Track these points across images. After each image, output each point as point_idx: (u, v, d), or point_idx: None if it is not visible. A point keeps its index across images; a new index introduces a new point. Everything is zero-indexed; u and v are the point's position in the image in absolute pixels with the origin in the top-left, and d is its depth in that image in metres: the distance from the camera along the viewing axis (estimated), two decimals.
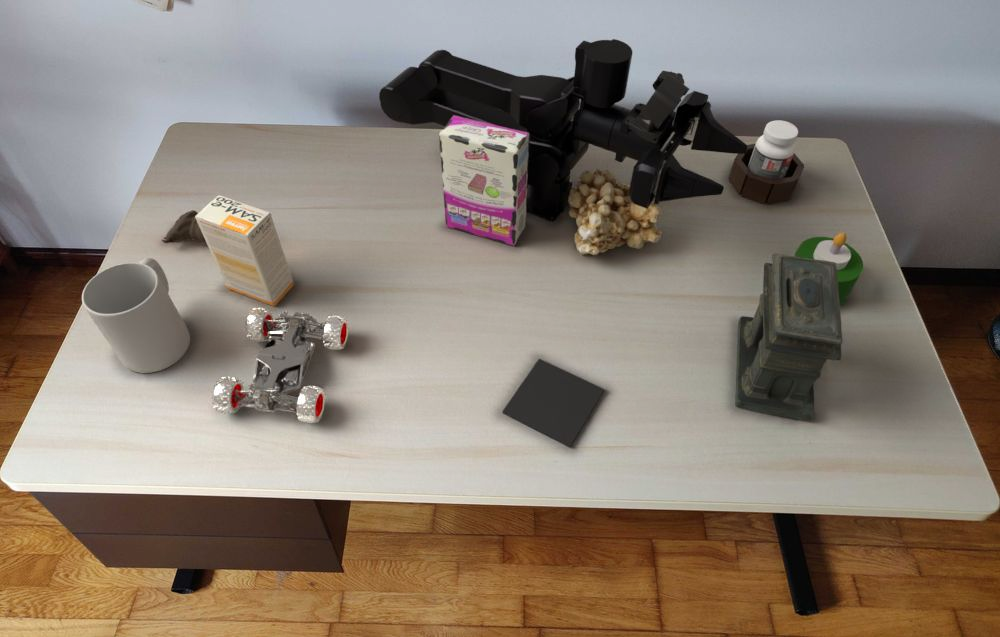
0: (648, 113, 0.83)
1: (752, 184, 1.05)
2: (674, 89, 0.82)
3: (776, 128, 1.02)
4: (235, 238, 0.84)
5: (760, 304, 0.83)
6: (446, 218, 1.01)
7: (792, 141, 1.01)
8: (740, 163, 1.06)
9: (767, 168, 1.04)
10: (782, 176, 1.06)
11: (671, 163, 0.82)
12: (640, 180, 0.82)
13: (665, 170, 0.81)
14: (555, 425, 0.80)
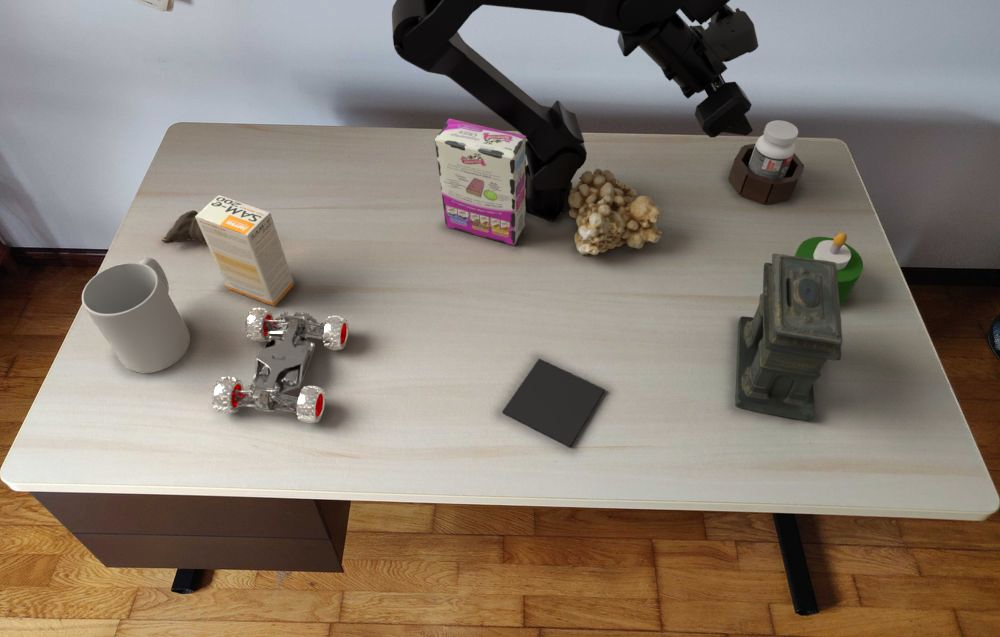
0: (732, 45, 0.87)
1: (752, 184, 1.05)
2: None
3: (776, 128, 1.02)
4: (235, 238, 0.84)
5: (760, 304, 0.83)
6: (445, 219, 1.01)
7: (792, 141, 1.01)
8: (740, 163, 1.06)
9: (767, 168, 1.04)
10: (782, 176, 1.06)
11: None
12: (733, 111, 0.86)
13: None
14: (555, 425, 0.80)
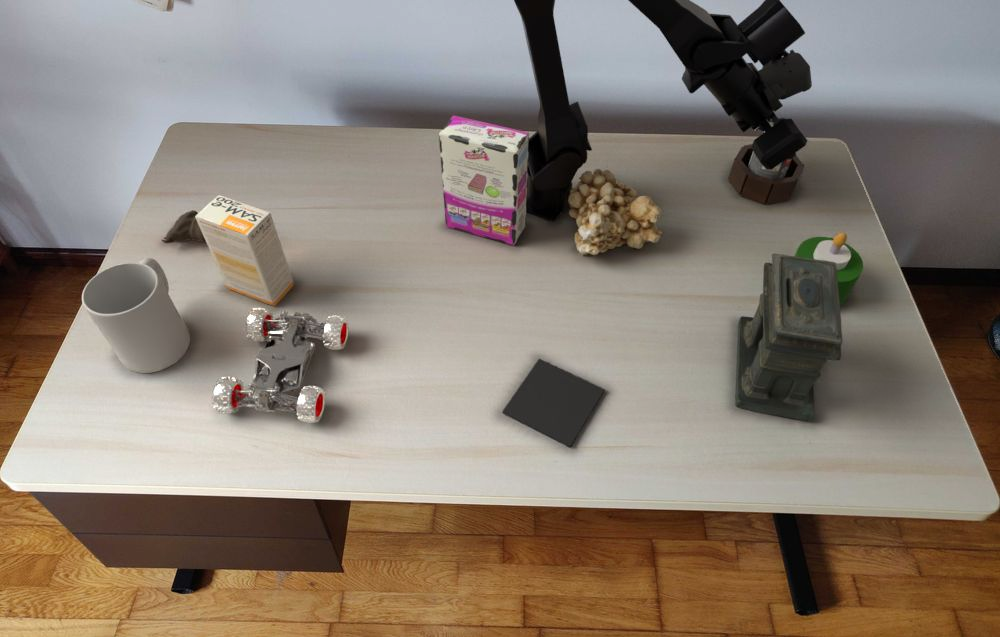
0: (789, 84, 0.93)
1: (752, 184, 1.05)
2: None
3: None
4: (235, 238, 0.84)
5: (760, 304, 0.83)
6: (446, 218, 1.01)
7: None
8: (740, 163, 1.06)
9: None
10: (782, 176, 1.06)
11: None
12: (791, 146, 0.92)
13: None
14: (555, 425, 0.80)
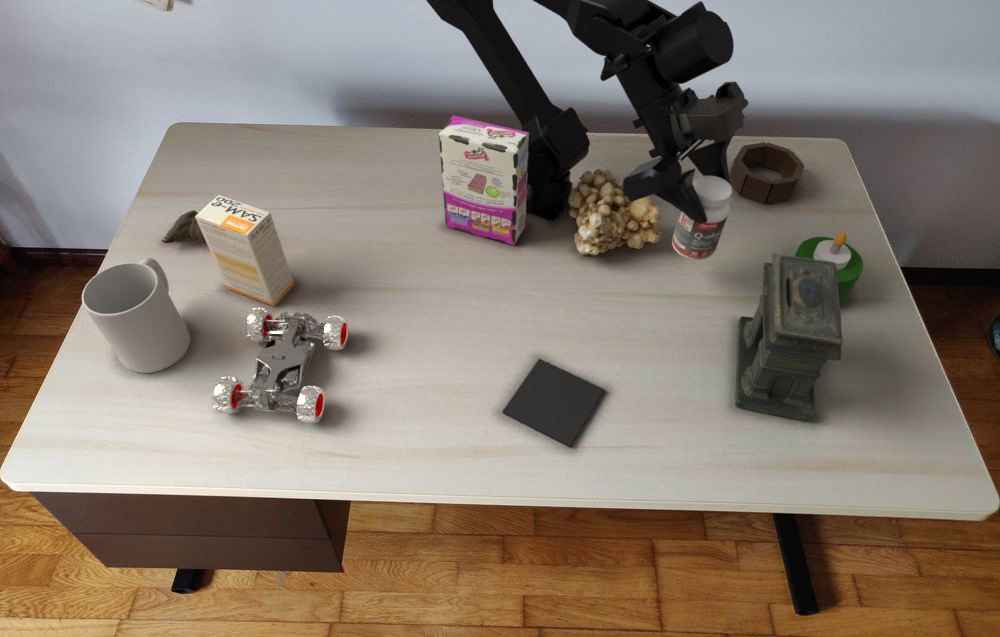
0: (697, 122, 0.77)
1: (752, 184, 1.05)
2: (734, 120, 0.76)
3: (708, 183, 0.84)
4: (235, 238, 0.84)
5: (760, 304, 0.83)
6: (446, 218, 1.01)
7: (709, 204, 0.83)
8: (740, 163, 1.06)
9: (681, 223, 0.87)
10: (697, 243, 0.87)
11: (689, 178, 0.79)
12: (647, 183, 0.78)
13: (680, 183, 0.79)
14: (555, 425, 0.80)
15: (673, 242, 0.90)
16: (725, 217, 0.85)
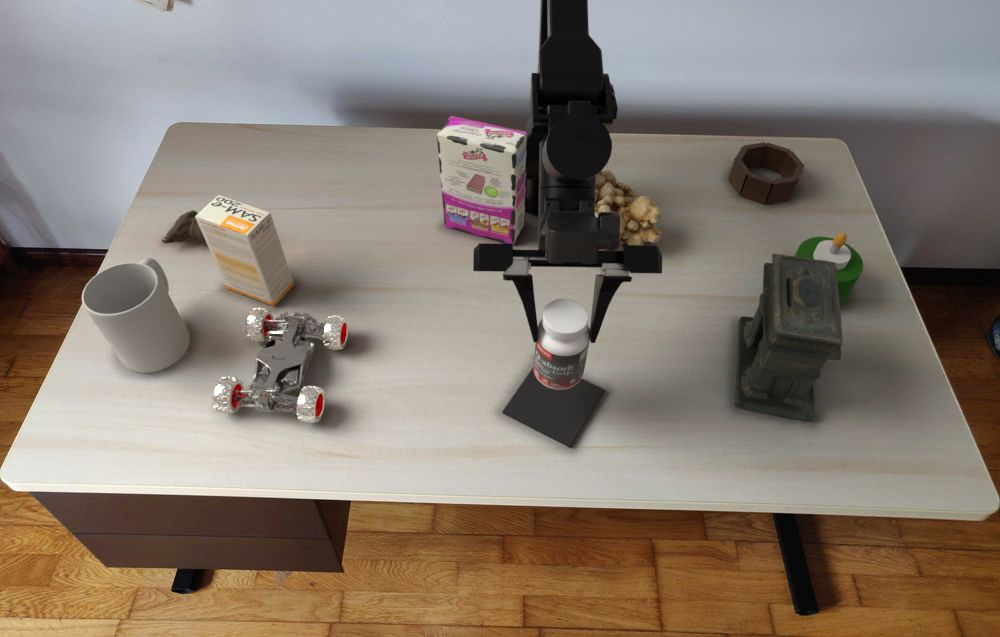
0: None
1: (752, 184, 1.05)
2: (571, 249, 0.63)
3: (568, 309, 0.71)
4: (235, 238, 0.84)
5: (760, 304, 0.83)
6: (445, 218, 1.01)
7: (544, 326, 0.71)
8: (740, 163, 1.06)
9: None
10: (537, 363, 0.75)
11: (520, 281, 0.69)
12: None
13: (505, 279, 0.69)
14: (555, 425, 0.80)
15: None
16: (563, 355, 0.71)
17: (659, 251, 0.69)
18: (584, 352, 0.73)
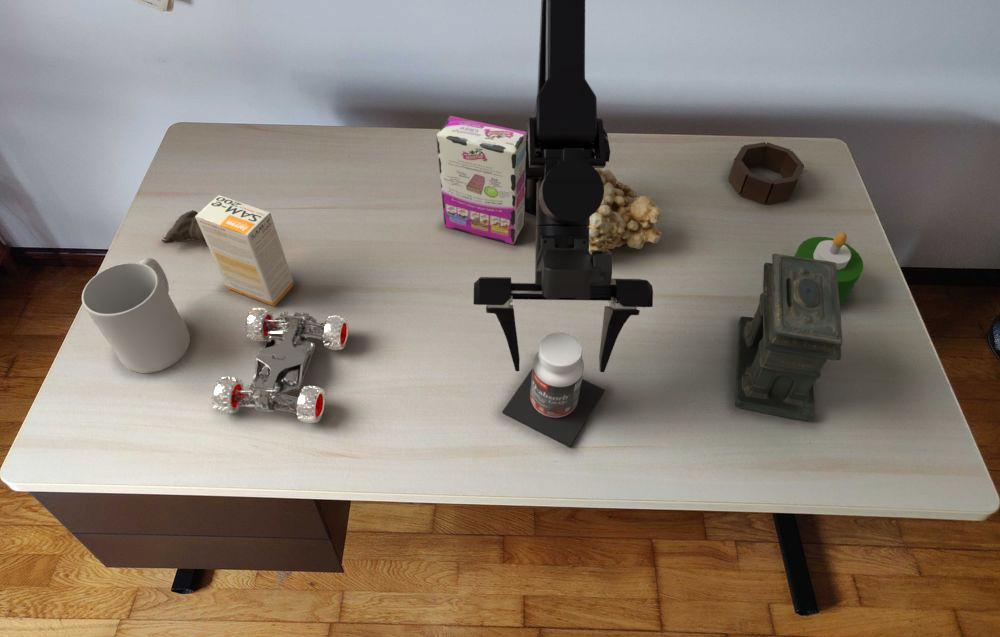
0: (542, 266, 0.69)
1: (752, 184, 1.05)
2: (566, 286, 0.67)
3: (563, 343, 0.76)
4: (235, 238, 0.84)
5: (760, 304, 0.83)
6: (445, 218, 1.01)
7: (541, 359, 0.75)
8: (740, 163, 1.06)
9: None
10: (534, 393, 0.80)
11: (502, 313, 0.73)
12: None
13: (488, 312, 0.73)
14: (555, 425, 0.80)
15: None
16: (558, 385, 0.76)
17: (650, 286, 0.72)
18: (578, 383, 0.77)
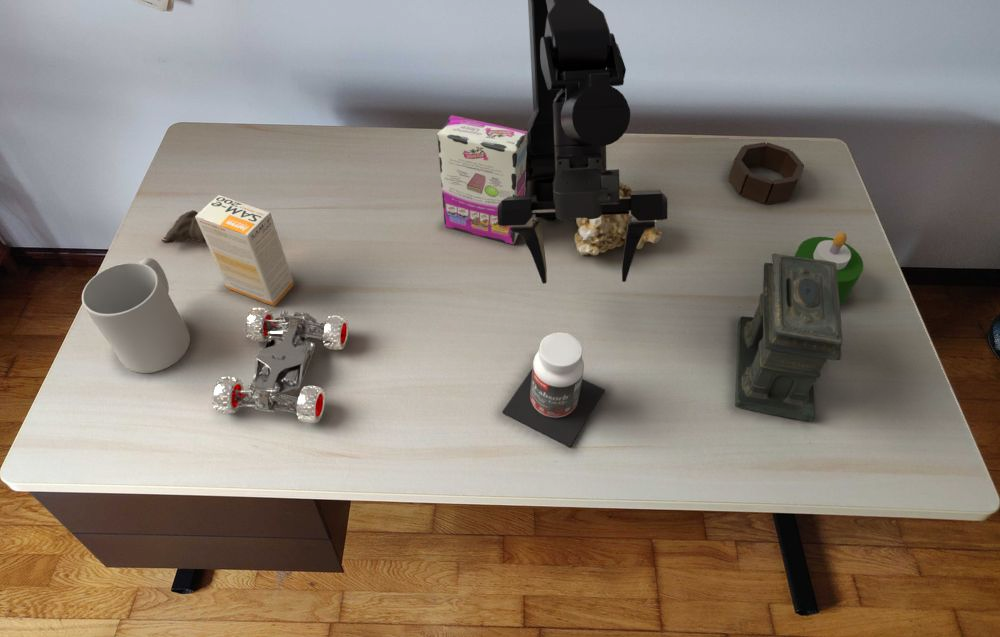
0: None
1: (752, 184, 1.05)
2: (575, 207, 0.71)
3: (563, 343, 0.76)
4: (235, 238, 0.84)
5: (760, 304, 0.83)
6: (445, 218, 1.01)
7: (541, 359, 0.75)
8: (740, 163, 1.06)
9: None
10: (534, 393, 0.80)
11: (525, 232, 0.78)
12: None
13: (511, 231, 0.79)
14: (555, 425, 0.80)
15: None
16: (558, 386, 0.76)
17: (664, 199, 0.75)
18: (578, 383, 0.77)
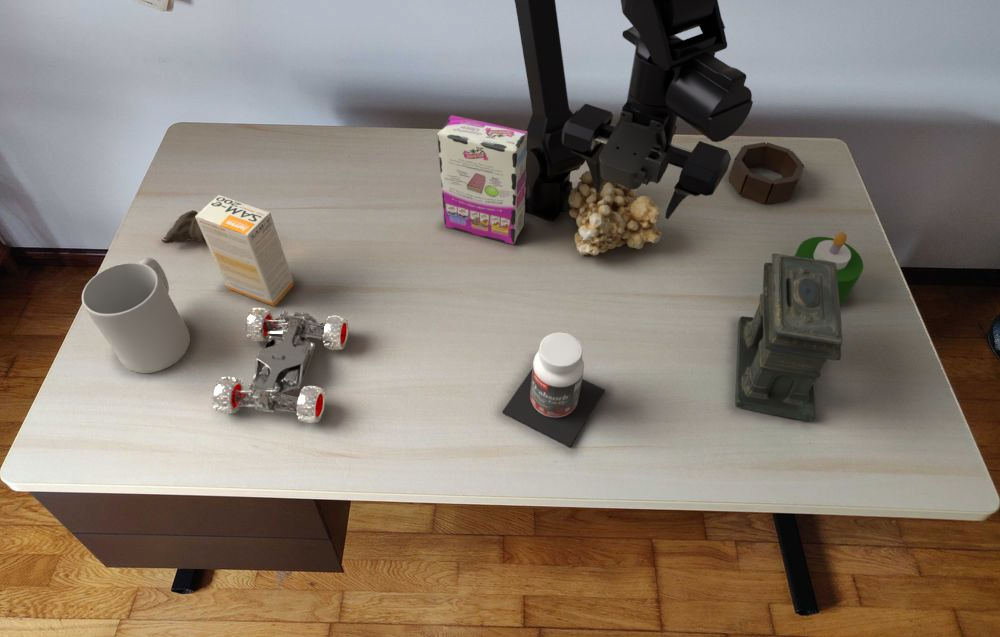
0: None
1: (752, 184, 1.05)
2: (615, 177, 0.75)
3: (563, 343, 0.76)
4: (235, 238, 0.84)
5: (760, 304, 0.83)
6: (445, 218, 1.01)
7: (541, 359, 0.75)
8: (740, 163, 1.06)
9: None
10: (534, 393, 0.80)
11: (583, 156, 0.82)
12: None
13: (572, 151, 0.83)
14: (555, 425, 0.80)
15: None
16: (558, 386, 0.76)
17: (715, 177, 0.75)
18: (578, 383, 0.77)
